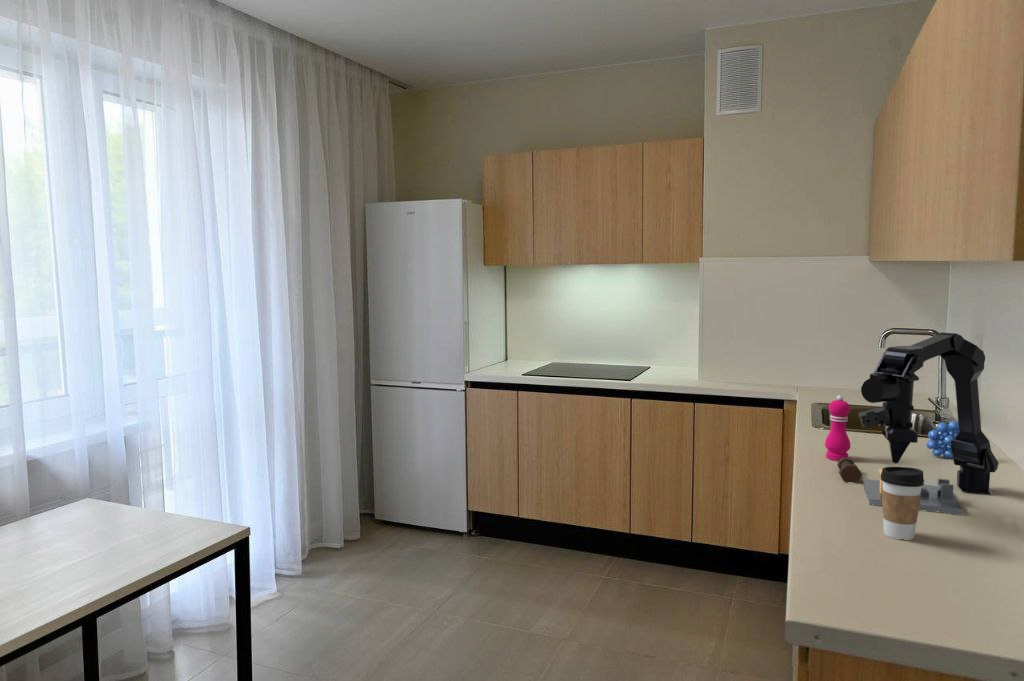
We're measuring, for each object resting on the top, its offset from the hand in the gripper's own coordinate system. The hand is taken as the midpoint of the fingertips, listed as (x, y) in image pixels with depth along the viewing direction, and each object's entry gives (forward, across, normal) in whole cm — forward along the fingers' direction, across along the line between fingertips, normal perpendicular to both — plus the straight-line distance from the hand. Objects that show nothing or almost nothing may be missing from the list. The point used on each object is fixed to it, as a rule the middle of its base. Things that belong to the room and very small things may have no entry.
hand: (895, 462), depth 170 cm
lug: (+10, -10, 0) cm, 14 cm away
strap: (+8, -12, +7) cm, 16 cm away
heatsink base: (+12, -11, +5) cm, 17 cm away
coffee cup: (+12, +18, -1) cm, 22 cm away
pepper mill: (+12, -46, -10) cm, 49 cm away
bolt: (+12, -28, -8) cm, 32 cm away
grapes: (+12, -60, +22) cm, 65 cm away
